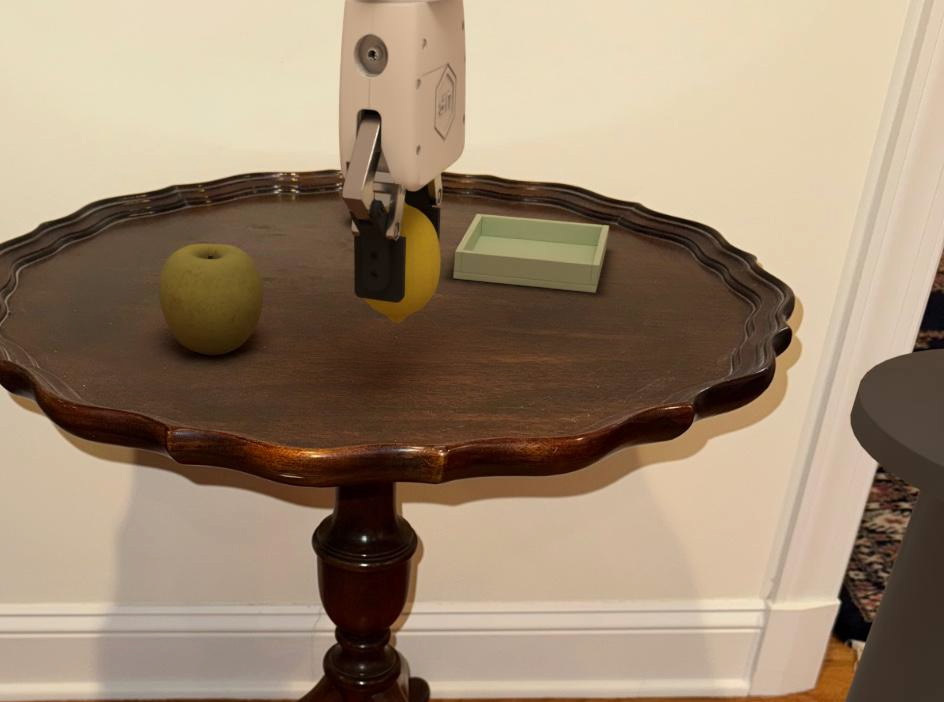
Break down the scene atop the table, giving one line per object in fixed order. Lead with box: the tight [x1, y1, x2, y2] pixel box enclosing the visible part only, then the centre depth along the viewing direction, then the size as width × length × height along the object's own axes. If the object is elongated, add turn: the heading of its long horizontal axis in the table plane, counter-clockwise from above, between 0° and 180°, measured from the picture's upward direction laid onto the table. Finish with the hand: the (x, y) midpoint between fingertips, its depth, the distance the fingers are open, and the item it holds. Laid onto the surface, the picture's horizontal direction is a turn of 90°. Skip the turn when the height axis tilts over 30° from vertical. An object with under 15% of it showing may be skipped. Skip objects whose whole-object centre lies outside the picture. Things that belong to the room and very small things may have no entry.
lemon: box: [363, 201, 442, 324], centre depth 72 cm, size 6×6×8 cm
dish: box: [452, 213, 610, 294], centre depth 100 cm, size 12×11×2 cm
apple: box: [158, 243, 264, 356], centre depth 83 cm, size 8×8×7 cm
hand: (397, 279), depth 73 cm, fingers closed on lemon, 5 cm apart
